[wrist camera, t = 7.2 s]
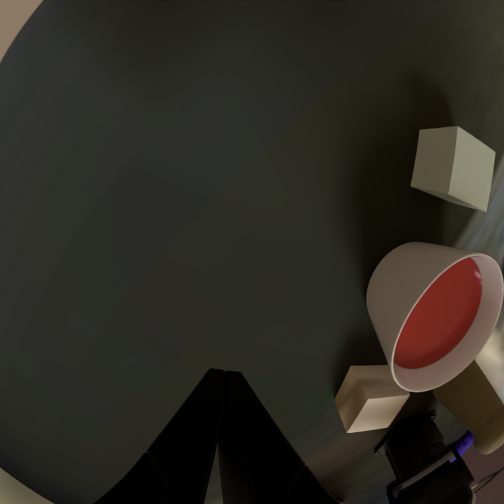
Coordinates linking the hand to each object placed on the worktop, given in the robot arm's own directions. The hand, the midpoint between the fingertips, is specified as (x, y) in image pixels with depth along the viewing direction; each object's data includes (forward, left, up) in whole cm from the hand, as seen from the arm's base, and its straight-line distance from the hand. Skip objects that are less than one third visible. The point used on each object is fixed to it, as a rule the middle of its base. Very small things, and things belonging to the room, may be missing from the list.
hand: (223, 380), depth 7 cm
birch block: (-9, -13, -10) cm, 19 cm away
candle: (0, -13, -10) cm, 16 cm away
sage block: (+9, -13, -10) cm, 18 cm away
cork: (-10, -26, -10) cm, 29 cm away
